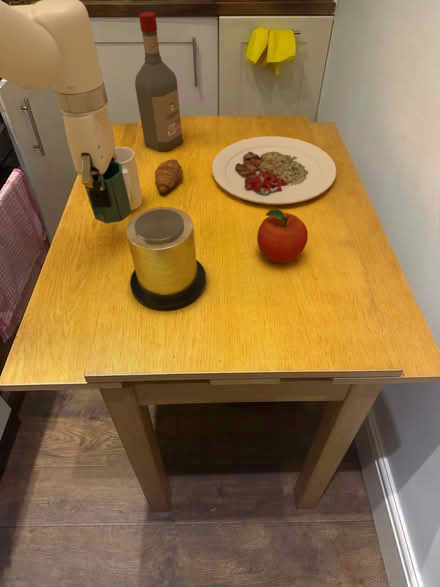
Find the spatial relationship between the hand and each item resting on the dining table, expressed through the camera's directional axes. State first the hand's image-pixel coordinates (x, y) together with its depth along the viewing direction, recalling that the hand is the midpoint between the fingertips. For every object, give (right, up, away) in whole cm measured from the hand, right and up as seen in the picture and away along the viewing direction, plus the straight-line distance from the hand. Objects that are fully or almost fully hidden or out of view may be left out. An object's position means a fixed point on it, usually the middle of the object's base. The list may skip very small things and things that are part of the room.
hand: (108, 192), depth 76 cm
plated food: (+34, +11, +25) cm, 43 cm away
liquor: (+6, +23, +36) cm, 43 cm away
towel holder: (+11, -17, 0) cm, 20 cm away
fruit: (+33, -11, +5) cm, 35 cm away
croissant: (+9, +9, +23) cm, 26 cm away
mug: (+1, +1, +17) cm, 17 cm away
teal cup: (0, -3, +3) cm, 4 cm away
